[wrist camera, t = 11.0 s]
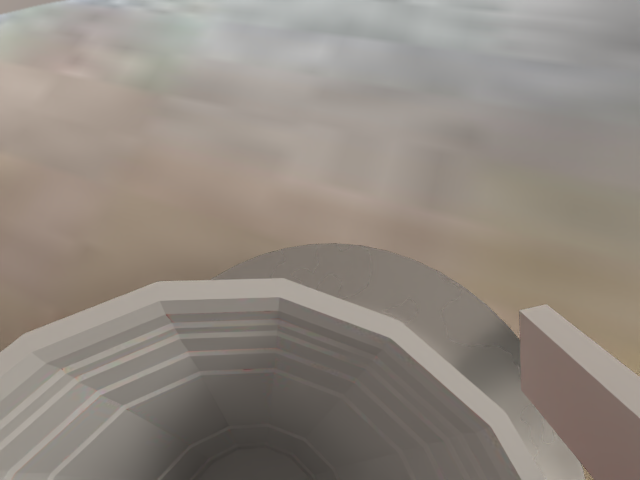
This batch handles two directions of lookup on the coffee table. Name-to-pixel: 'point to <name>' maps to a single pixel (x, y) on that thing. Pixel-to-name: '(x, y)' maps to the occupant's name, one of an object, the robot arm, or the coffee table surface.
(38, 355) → the plastic cup
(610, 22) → the coffee table surface
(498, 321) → the disc
